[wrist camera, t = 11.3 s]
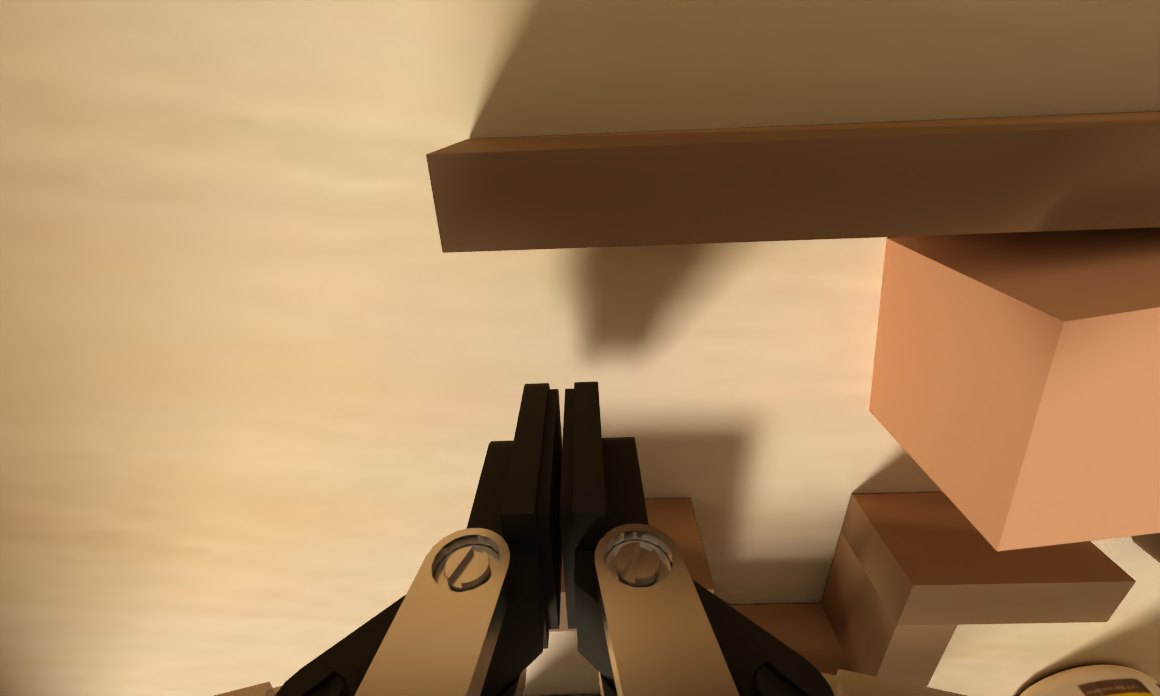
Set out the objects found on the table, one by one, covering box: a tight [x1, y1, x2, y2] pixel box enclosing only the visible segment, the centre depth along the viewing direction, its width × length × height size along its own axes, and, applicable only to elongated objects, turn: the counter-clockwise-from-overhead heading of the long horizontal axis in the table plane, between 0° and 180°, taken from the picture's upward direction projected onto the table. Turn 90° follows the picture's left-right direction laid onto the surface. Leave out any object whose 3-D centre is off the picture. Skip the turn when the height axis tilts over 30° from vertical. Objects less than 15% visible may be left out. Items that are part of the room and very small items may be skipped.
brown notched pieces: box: [426, 111, 1160, 687], centre depth 11 cm, size 18×22×6 cm
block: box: [869, 227, 1160, 551], centre depth 10 cm, size 5×9×5 cm, turn 100°
